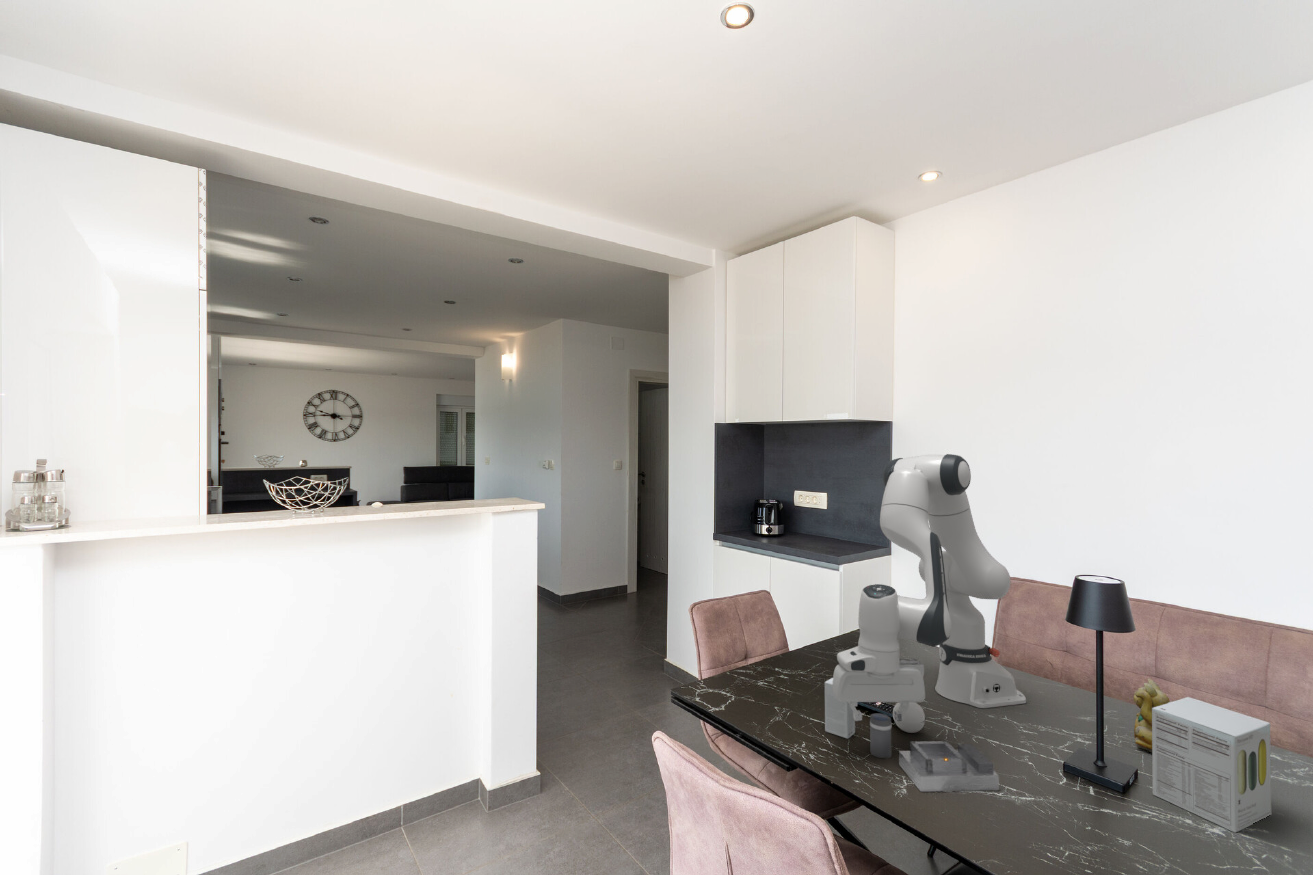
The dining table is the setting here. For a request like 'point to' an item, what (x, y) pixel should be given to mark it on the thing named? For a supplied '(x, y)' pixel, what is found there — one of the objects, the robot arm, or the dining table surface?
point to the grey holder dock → (948, 767)
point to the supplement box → (1212, 762)
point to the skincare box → (837, 714)
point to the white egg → (911, 718)
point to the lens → (880, 735)
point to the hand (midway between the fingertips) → (878, 720)
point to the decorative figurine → (1147, 712)
